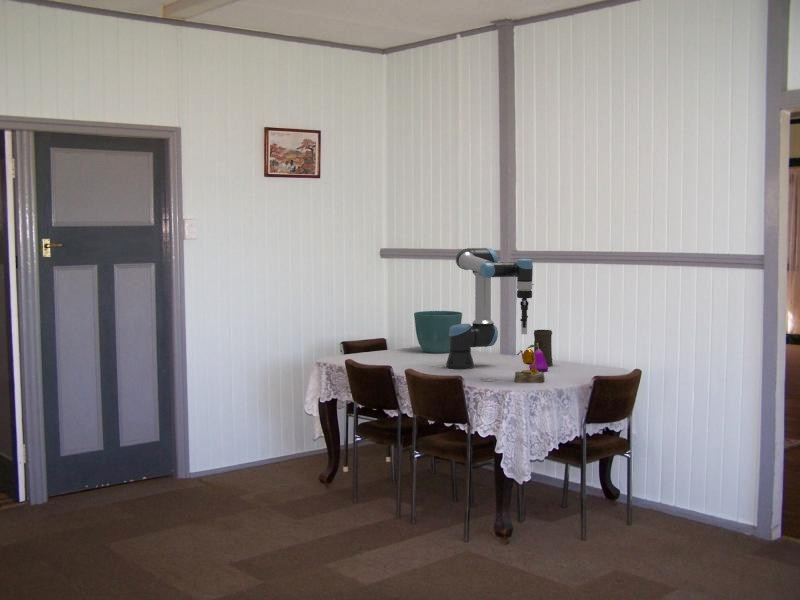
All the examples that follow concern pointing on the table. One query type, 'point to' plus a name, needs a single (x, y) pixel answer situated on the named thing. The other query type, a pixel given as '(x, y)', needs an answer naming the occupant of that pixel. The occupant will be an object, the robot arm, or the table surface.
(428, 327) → the flower pot
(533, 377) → the podium
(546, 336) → the beer stein
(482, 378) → the coaster
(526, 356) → the figurine
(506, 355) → the table surface
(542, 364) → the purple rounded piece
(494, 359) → the table surface
